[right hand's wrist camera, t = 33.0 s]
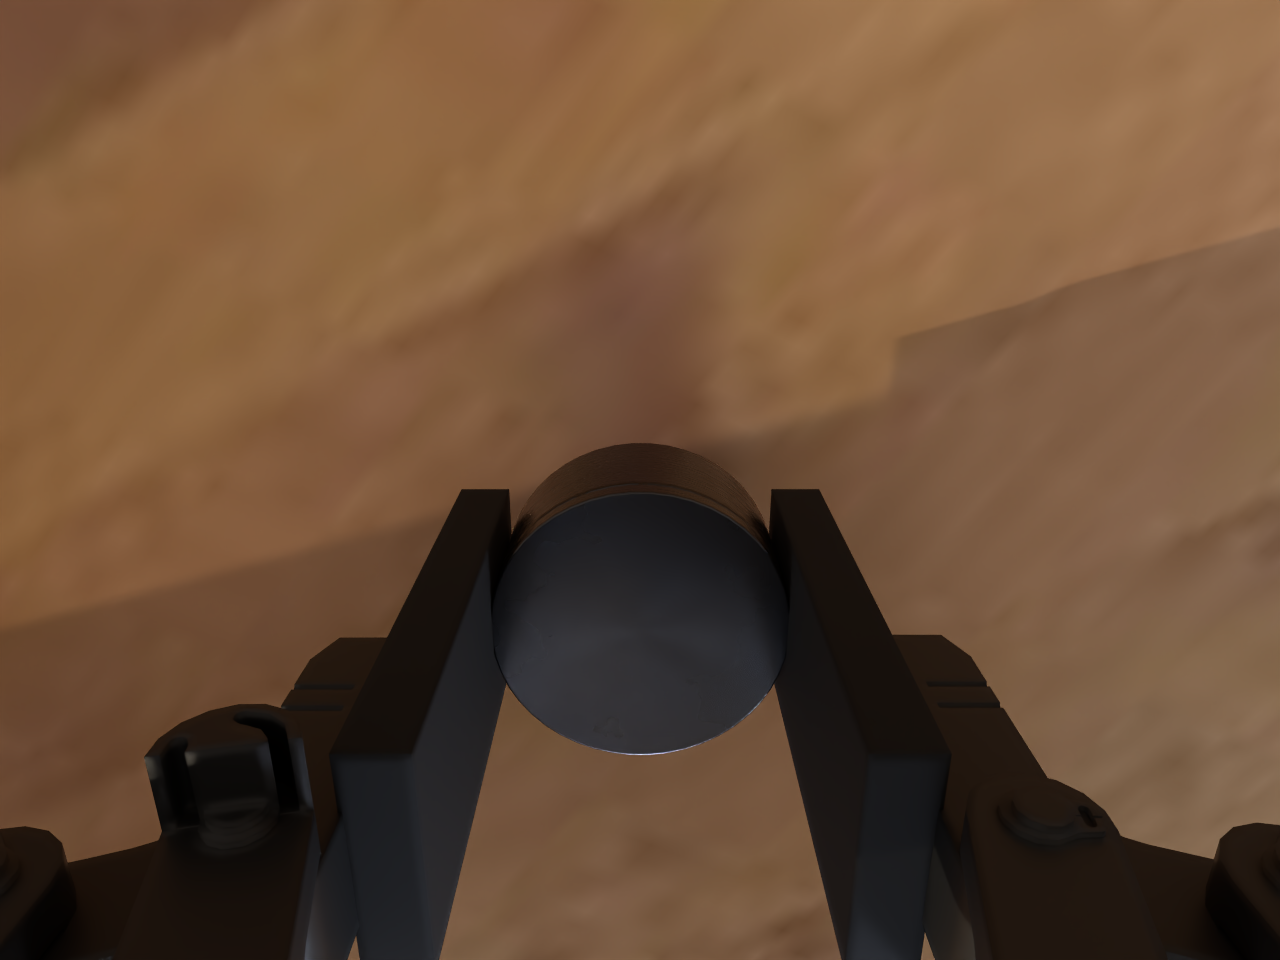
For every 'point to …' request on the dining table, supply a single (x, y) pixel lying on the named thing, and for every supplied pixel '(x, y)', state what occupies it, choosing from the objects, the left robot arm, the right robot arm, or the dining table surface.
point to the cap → (640, 602)
